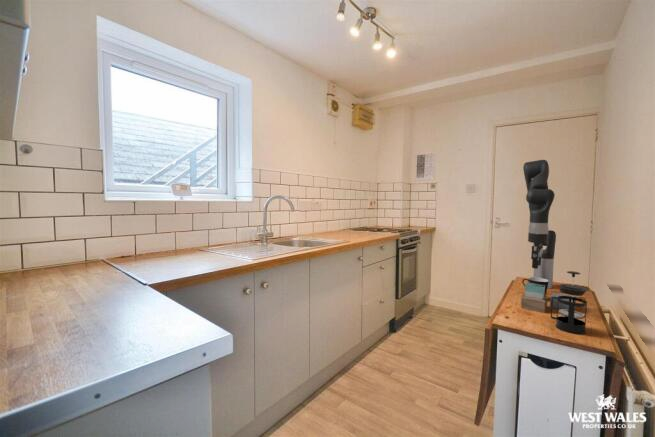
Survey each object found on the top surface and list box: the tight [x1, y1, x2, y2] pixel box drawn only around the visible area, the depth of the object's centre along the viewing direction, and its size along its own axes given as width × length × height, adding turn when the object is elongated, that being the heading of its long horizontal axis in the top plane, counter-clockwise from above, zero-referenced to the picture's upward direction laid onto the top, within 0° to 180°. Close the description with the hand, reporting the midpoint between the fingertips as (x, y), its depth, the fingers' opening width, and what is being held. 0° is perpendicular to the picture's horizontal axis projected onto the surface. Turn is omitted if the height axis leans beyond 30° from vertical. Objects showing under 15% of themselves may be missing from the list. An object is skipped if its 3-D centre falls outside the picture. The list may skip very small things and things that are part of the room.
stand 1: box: [520, 293, 549, 313], centre depth 142 cm, size 9×9×5 cm
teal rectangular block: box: [524, 281, 545, 300], centre depth 141 cm, size 5×7×6 cm
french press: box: [550, 270, 589, 335], centre depth 118 cm, size 12×9×23 cm
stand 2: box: [549, 292, 577, 311], centre depth 142 cm, size 9×9×5 cm
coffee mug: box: [521, 276, 549, 297], centre depth 156 cm, size 12×9×10 cm
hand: (536, 266), depth 140 cm, fingers open, 8 cm apart
